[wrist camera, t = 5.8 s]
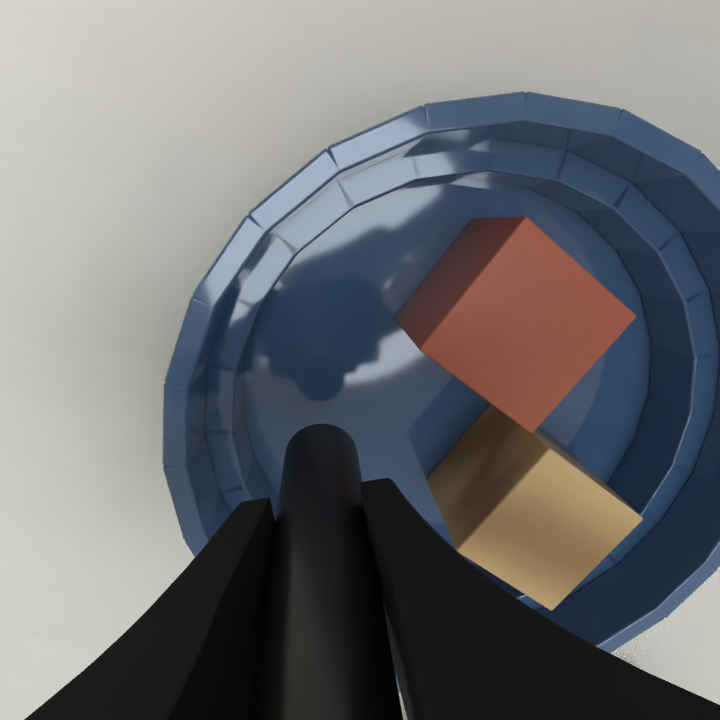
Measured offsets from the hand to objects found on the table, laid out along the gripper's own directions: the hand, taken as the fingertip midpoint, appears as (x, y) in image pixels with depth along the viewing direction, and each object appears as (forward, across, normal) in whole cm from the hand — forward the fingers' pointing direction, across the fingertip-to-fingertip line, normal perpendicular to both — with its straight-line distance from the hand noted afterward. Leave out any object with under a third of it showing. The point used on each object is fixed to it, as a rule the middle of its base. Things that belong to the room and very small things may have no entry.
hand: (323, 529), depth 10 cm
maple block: (+6, -6, +3) cm, 10 cm away
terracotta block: (+6, -6, -3) cm, 9 cm away
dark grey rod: (+3, 0, 0) cm, 3 cm away
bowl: (+7, -5, 0) cm, 8 cm away
